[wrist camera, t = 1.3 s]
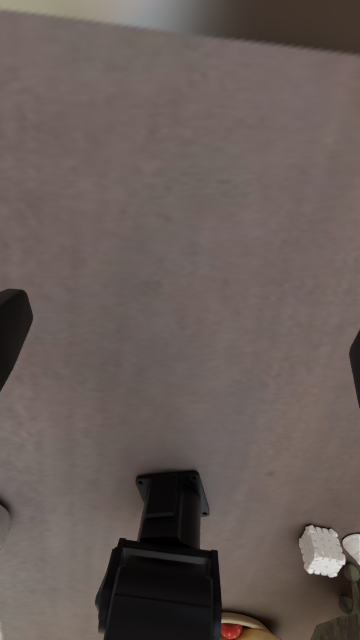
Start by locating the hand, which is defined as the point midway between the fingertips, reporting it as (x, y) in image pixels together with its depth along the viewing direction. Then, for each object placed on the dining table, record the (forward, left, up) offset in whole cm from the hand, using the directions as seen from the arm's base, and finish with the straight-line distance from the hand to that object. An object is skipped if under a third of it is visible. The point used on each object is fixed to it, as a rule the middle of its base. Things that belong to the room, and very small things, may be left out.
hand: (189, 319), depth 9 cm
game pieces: (-36, -10, -15) cm, 40 cm away
